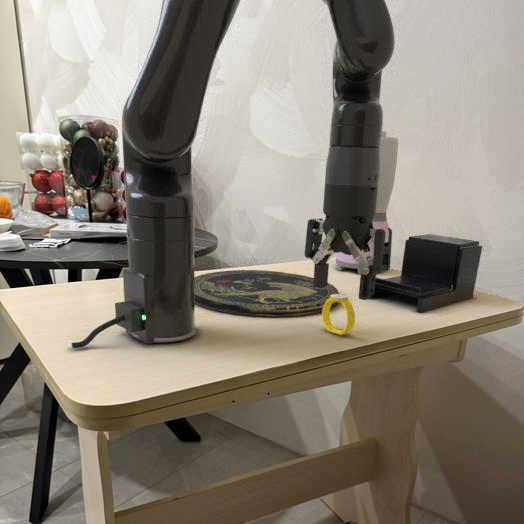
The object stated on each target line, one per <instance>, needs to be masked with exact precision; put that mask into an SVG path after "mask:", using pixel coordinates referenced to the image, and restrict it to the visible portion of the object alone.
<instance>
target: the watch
mask: <svg viewBox="0 0 524 524" xmlns="http://www.w3.org/2000/svg"><path fill="white" fill-rule="evenodd" d="M333 301H334V302H338V303H341V304H342V306H343V307H344V309H345V312H346V323H345V324H346V325H345V327H344V329H343V330H341V329H338V328H335V326H334V325H333V323H332V320H331V316H330V313H331V308H330V307H331V305H332V303H333ZM321 316H322V317H321V318H322V322H323V326H324V327H325V329H326V330H327V332H331V333H333V334H336V335H339V336H344V335H347V334H349V333H350V332H351V331H352V330H353V328H354V325H355V321H356V313H355V310H354V307H353V304H352V303H351V301H350V300H349V295H347V294H343V293H339V294H332V295H331V296H330V298H329V299H328V300H327V301H326V302H325V304H324V306H323V311H321Z"/></svg>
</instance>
